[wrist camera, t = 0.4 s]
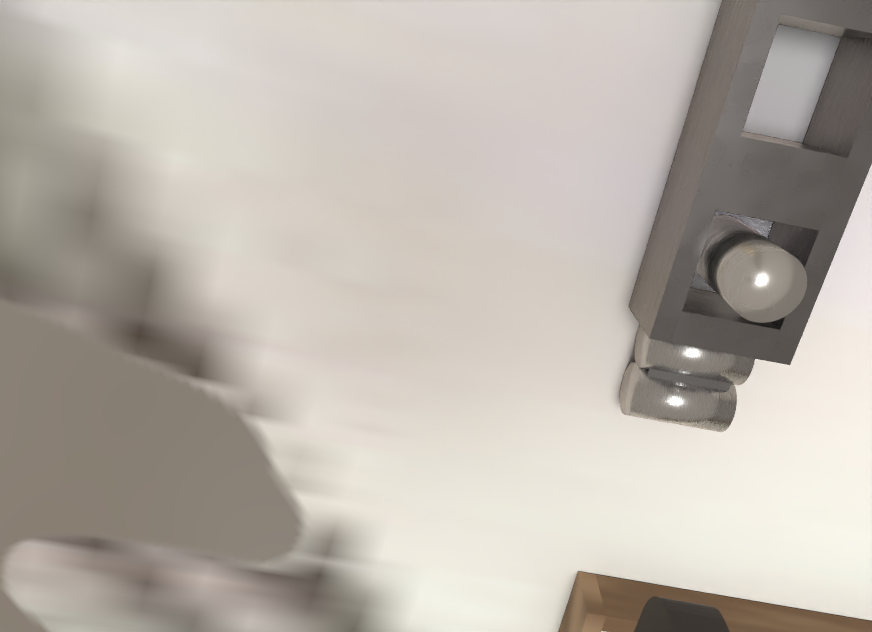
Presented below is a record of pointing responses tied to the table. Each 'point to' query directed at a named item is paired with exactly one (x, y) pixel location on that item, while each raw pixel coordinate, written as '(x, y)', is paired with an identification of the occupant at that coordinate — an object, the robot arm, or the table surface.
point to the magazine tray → (625, 599)
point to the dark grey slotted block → (754, 197)
